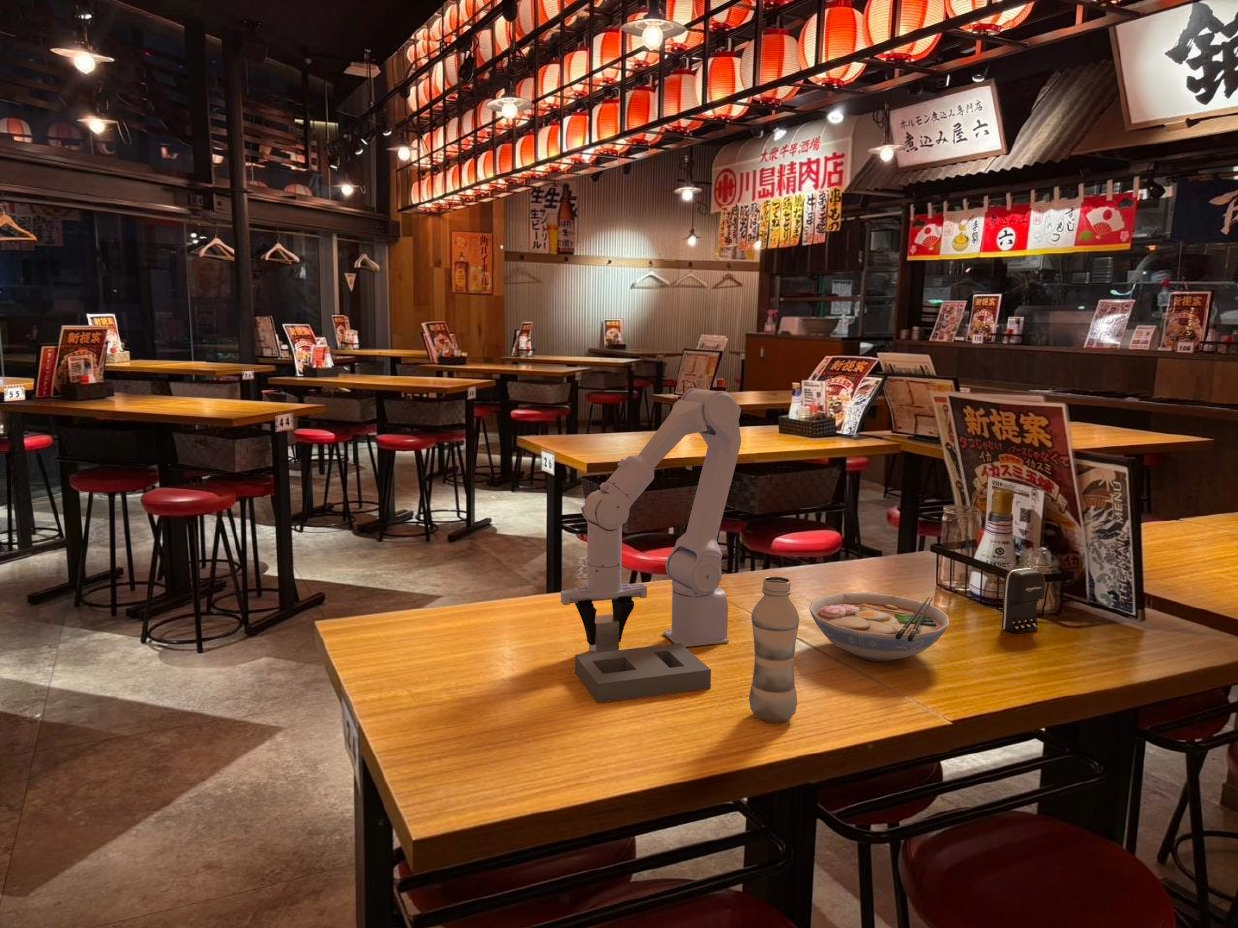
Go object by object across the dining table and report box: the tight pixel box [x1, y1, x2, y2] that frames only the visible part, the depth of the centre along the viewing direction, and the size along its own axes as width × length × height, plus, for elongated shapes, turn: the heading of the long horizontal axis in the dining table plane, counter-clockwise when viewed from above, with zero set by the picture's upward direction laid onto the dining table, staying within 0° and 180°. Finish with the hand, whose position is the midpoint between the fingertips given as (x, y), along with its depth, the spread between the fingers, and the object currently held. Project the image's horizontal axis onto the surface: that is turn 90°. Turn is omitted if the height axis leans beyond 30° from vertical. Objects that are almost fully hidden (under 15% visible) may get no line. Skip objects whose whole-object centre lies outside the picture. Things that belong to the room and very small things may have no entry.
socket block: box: [574, 643, 712, 704], centre depth 135 cm, size 18×12×3 cm, turn 109°
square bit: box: [588, 613, 620, 653], centre depth 146 cm, size 4×4×6 cm
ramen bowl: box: [808, 592, 950, 662], centre depth 147 cm, size 25×23×8 cm
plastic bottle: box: [748, 576, 800, 723], centre depth 121 cm, size 6×7×20 cm
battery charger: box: [1001, 567, 1046, 634], centre depth 159 cm, size 7×4×11 cm, turn 111°
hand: (603, 641), depth 146 cm, fingers closed on square bit, 4 cm apart
